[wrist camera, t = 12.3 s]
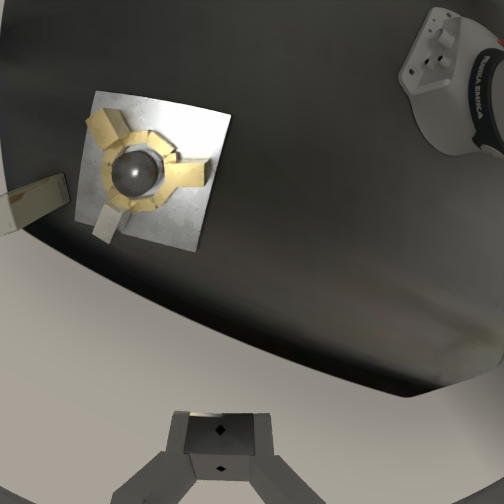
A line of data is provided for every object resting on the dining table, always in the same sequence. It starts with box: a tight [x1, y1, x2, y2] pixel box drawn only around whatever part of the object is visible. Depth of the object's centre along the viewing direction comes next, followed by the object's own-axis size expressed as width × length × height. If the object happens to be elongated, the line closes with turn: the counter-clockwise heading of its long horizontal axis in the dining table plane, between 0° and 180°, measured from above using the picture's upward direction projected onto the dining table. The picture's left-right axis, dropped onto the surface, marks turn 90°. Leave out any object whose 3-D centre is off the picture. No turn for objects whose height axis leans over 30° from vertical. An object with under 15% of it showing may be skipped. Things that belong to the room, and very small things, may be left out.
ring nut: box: [86, 108, 209, 244], centre depth 32 cm, size 14×15×4 cm
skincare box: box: [0, 173, 70, 236], centre depth 31 cm, size 6×4×12 cm
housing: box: [75, 91, 231, 252], centre depth 33 cm, size 17×17×5 cm
